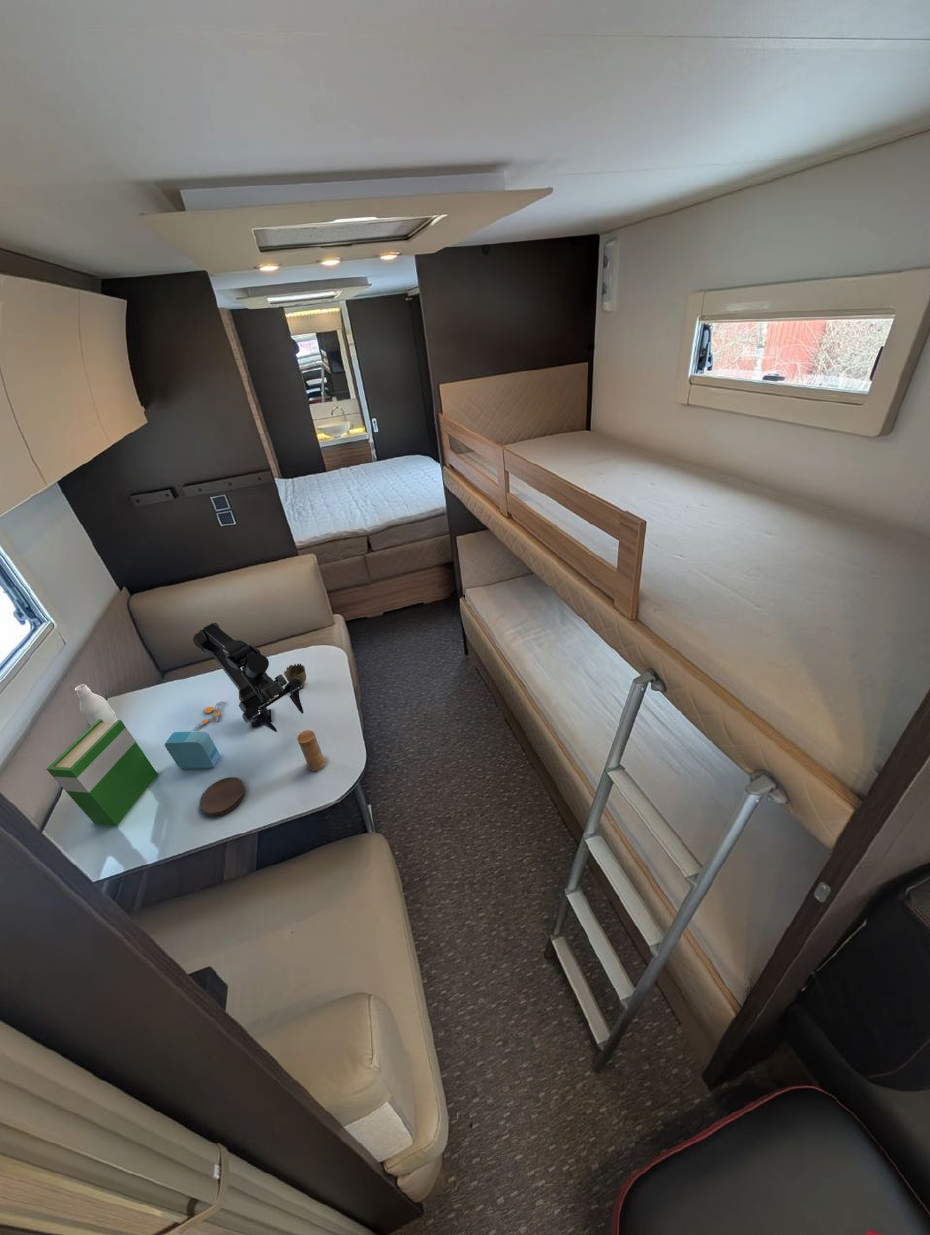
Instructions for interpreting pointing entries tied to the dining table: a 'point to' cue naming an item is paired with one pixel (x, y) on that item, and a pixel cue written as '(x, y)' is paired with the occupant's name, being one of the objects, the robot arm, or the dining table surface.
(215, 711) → the key chain
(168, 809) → the dining table surface
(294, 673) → the olive tapered rounded piece
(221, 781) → the walnut disc
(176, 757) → the data package
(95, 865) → the dining table surface
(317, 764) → the oak column
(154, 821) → the dining table surface
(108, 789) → the hardback book
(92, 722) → the water bottle
